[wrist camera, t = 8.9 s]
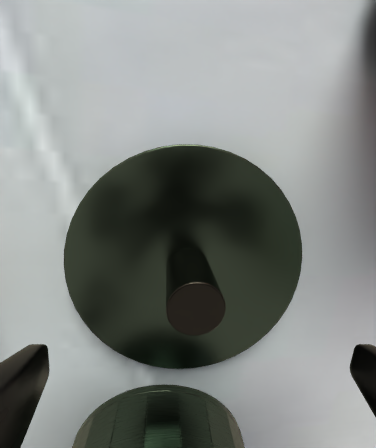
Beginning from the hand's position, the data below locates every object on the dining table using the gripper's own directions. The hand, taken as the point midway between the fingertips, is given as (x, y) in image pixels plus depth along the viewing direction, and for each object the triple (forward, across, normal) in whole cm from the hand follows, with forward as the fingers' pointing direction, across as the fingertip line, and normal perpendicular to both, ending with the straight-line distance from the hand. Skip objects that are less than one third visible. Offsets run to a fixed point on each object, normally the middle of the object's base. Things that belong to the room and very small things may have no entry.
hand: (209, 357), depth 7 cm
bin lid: (+7, 0, 0) cm, 7 cm away
